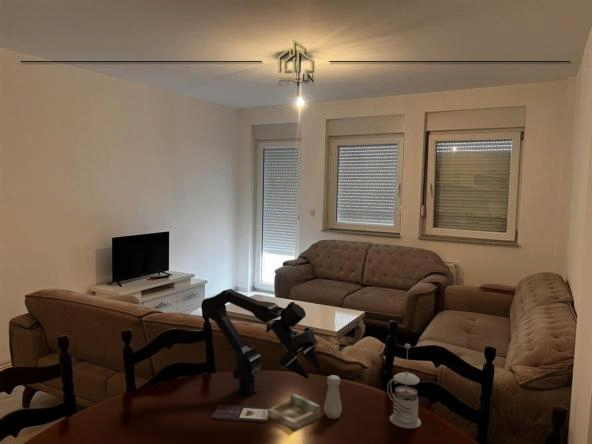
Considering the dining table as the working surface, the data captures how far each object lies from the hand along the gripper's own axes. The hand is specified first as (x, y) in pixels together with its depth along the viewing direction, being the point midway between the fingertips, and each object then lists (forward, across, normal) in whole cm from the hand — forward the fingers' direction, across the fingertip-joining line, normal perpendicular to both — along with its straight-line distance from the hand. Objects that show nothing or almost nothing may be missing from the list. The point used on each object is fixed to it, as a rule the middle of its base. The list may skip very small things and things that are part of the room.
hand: (314, 372), depth 142 cm
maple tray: (+6, -7, +12) cm, 15 cm away
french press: (+29, +9, -10) cm, 32 cm away
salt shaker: (+14, 0, +4) cm, 15 cm away
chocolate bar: (-4, -14, +23) cm, 27 cm away
